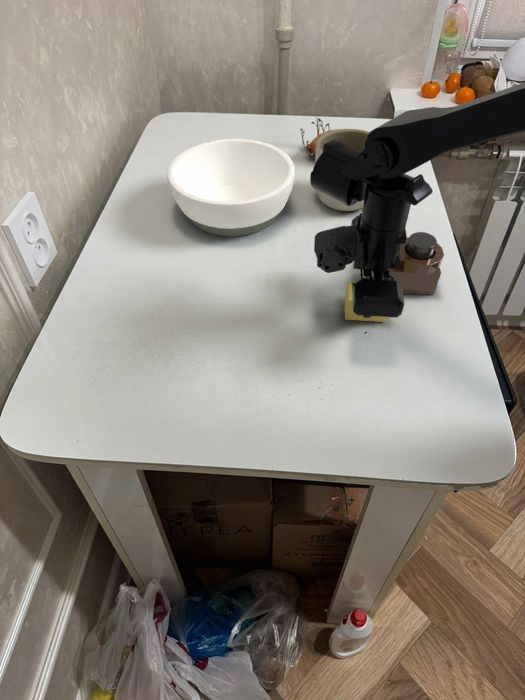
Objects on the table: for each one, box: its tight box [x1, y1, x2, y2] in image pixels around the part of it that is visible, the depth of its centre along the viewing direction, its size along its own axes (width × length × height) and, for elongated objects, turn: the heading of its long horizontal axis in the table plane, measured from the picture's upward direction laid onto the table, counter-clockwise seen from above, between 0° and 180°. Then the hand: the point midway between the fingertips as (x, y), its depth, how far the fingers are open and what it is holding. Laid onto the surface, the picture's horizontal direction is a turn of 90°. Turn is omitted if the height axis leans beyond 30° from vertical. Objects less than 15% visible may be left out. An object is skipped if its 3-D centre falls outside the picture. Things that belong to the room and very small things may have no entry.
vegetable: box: [299, 116, 340, 158], centre depth 104 cm, size 16×11×10 cm
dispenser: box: [383, 236, 445, 295], centre depth 79 cm, size 9×8×6 cm
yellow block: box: [344, 281, 387, 323], centre depth 75 cm, size 6×4×4 cm, turn 85°
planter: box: [314, 128, 370, 212], centre depth 92 cm, size 12×12×11 cm
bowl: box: [167, 138, 296, 238], centre depth 91 cm, size 22×22×8 cm
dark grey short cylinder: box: [406, 231, 438, 260], centre depth 75 cm, size 4×4×2 cm
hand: (365, 306), depth 75 cm, fingers closed on yellow block, 4 cm apart
